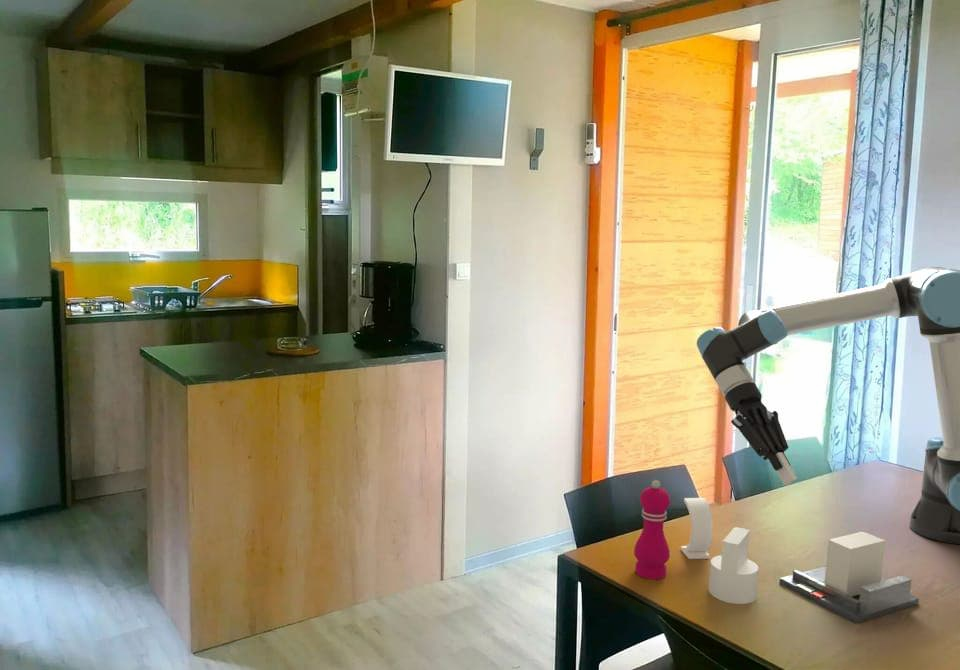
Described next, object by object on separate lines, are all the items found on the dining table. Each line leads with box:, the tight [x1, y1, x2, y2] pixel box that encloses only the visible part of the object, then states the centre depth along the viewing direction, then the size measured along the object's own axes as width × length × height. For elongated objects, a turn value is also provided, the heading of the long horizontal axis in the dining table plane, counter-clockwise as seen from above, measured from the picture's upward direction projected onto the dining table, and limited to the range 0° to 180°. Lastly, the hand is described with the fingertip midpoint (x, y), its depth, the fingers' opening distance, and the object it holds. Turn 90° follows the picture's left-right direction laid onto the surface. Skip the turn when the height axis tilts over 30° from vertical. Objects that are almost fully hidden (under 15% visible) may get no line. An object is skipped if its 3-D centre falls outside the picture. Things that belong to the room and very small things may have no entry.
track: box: [779, 565, 920, 625], centre depth 160 cm, size 18×18×6 cm
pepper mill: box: [633, 480, 671, 580], centre depth 166 cm, size 7×7×20 cm
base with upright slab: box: [708, 526, 759, 605], centre depth 159 cm, size 9×9×12 cm
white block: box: [825, 531, 886, 597], centre depth 159 cm, size 10×6×10 cm, turn 118°
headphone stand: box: [680, 497, 714, 560], centre depth 177 cm, size 5×6×12 cm
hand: (790, 482), depth 173 cm, fingers closed
